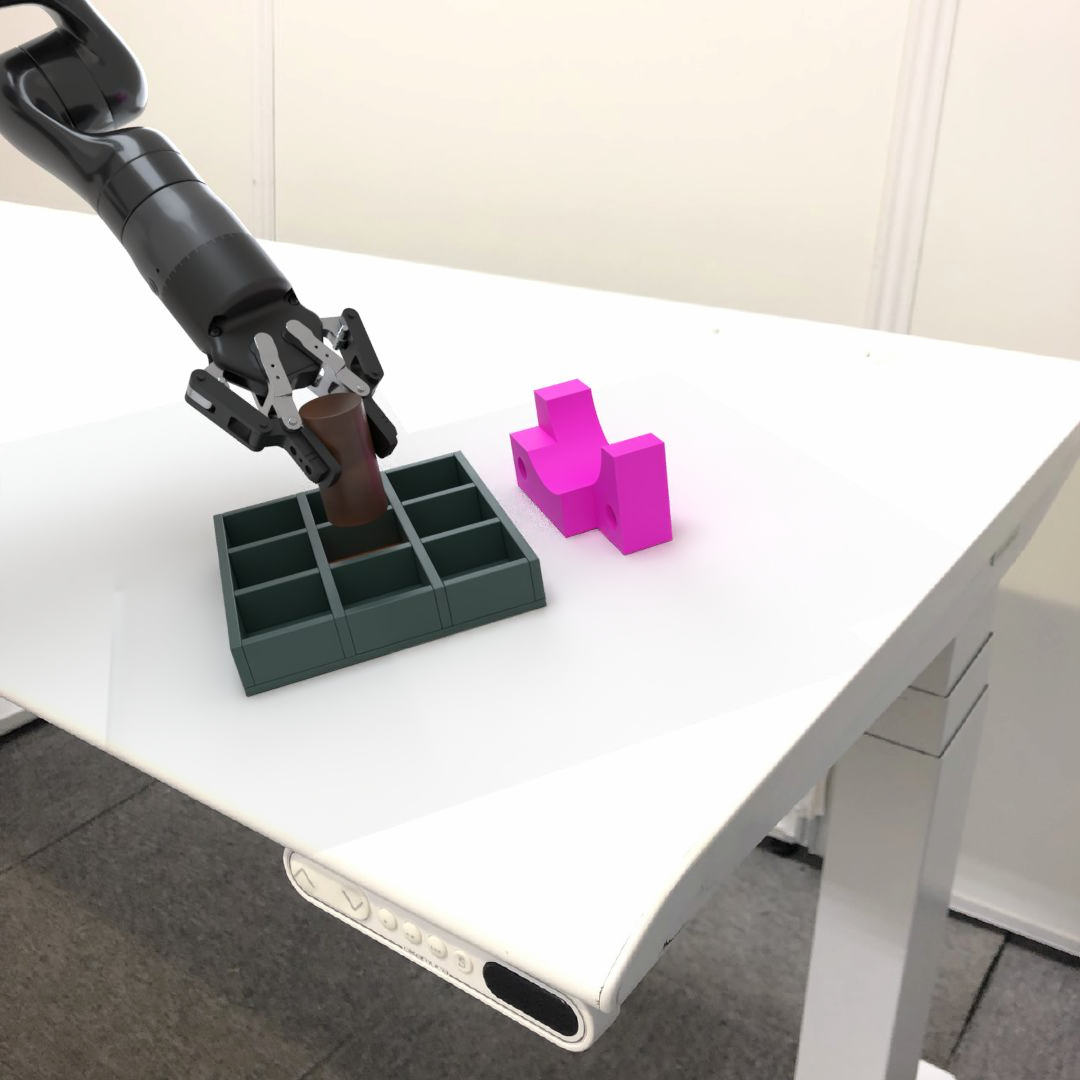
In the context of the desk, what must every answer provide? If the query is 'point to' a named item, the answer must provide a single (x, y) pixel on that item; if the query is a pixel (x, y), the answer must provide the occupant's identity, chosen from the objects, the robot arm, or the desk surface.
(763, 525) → the desk surface
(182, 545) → the desk surface
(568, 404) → the toy block
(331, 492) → the cylinder
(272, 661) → the grid
